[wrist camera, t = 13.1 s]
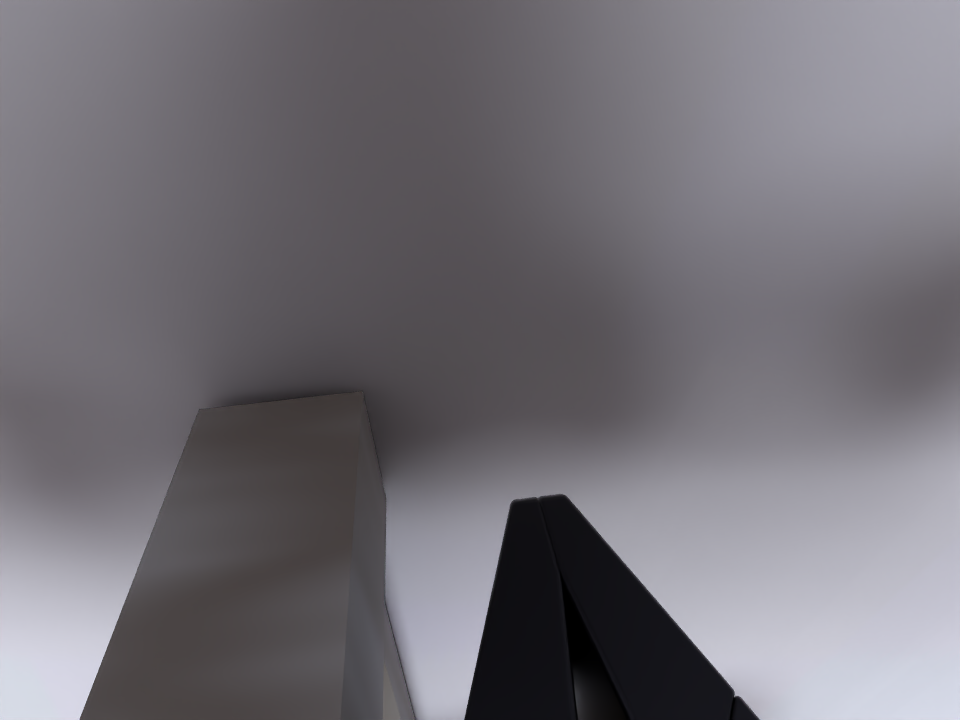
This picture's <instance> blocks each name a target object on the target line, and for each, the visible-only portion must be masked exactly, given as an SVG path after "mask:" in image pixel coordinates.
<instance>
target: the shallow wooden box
mask: <svg viewBox="0 0 960 720" xmlns="http://www.w3.org/2000/svg"><path fill="white" fill-rule="evenodd" d="M385 547H386V495H385V491H384V486H383V482H382V477H381V472H380V468H379V463H378V459H377V454H376V450H375V445H374V441H373V436H372V432H371V427H370V422H369V418H368V413H367V409H366V404H365V400H364V395H363V391H358V392H350V393H341V394H332V395H323V396H314V397H305V398H297V399H288V400H279V401H270V402H261V403H252V404H244V405H235V406H226V407H217V408H208V409H199V411H198V414H197V416H196V419H195V422H194V424H193V427H192V429H191V432H190V435H189V437H188V440H187V442H186V445H185V447H184V450H183V453H182V455H181V458H180V460H179V463H178V466H177V468H176V471H175V473H174V476H173V479H172V481H171V484H170V486H169V489H168V492H167V494H166V497H165V499H164V502H163V504H162V507H161V510H160V512H159V515H158V517H157V520H156V523H155V525H154V528H153V530H152V533H151V536H150V538H149V541H148V543H147V546H146V549H145V551H144V554H143V556H142V559H141V562H140V564H139V567H138V569H137V572H136V574H135V577H134V580H133V582H132V585H131V587H130V590H129V593H128V595H127V598H126V600H125V603H124V606H123V608H122V611H121V613H120V616H119V619H118V621H117V624H116V626H115V629H114V631H113V634H112V637H111V639H110V642H109V644H108V647H107V650H106V652H105V655H104V657H103V660H102V663H101V665H100V668H99V670H98V673H97V676H96V678H95V681H94V683H93V686H92V689H91V691H90V694H89V696H88V699H87V701H86V704H85V707H84V709H83V712H82V714H81V717H80V720H415V718H414V714H413V710H412V706H411V702H410V698H409V695H408V691H407V687H406V683H405V679H404V675H403V672H402V668H401V664H400V660H399V656H398V652H397V649H396V645H395V641H394V637H393V633H392V629H391V626H390V622H389V618H388V614H387V610H386V606H385Z"/></svg>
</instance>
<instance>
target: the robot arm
mask: <svg viewBox="0 0 960 720" xmlns="http://www.w3.org/2000/svg"><path fill="white" fill-rule="evenodd" d="M734 695H735V692H734V690H733V688H732V687H731V686H730V685H729V684H728V683H727V681H726V680H725V679H724V678H723V677H722V676H721V674H720V673H719V672H718V671H717V670H716V669H715V667H714V666H713V665H712V664H711V663H710V662H709V661H708V659H707V658H706V657H705V656H704V655H703V654H702V652H701V651H700V650H699V649H698V648H697V647H696V645H695V644H694V643H693V642H692V641H691V640H690V639H689V637H688V636H687V635H686V634H685V633H684V632H683V630H682V629H681V628H680V627H679V626H678V625H677V623H676V622H675V621H674V620H673V619H672V618H671V616H670V615H669V614H668V613H667V612H666V611H665V610H664V608H663V607H662V606H661V605H660V604H659V603H658V601H657V600H656V599H655V598H654V597H653V596H652V594H651V593H650V592H649V591H648V590H647V589H646V587H645V586H644V585H643V584H642V583H641V582H640V581H639V579H638V578H637V577H636V576H635V575H634V574H633V572H632V571H631V570H630V569H629V568H628V567H627V565H626V564H625V563H624V562H623V561H622V560H621V559H620V557H619V556H618V555H617V554H616V553H615V552H614V550H613V549H612V548H611V547H610V546H609V545H608V543H607V542H606V541H605V540H604V539H603V538H602V536H601V535H600V534H599V533H598V532H597V531H596V530H595V528H594V527H593V526H592V525H591V524H590V523H589V521H588V520H587V519H586V518H585V517H584V516H583V514H582V513H581V512H580V511H579V510H578V509H577V508H576V506H575V505H574V504H573V503H572V502H571V501H570V499H569V498H568V497H567V496H565V495H563V494H556V495H548V496H541V497H539V498H536V497H532V498H524V499H516V500H513V501H512V503H511V505H510V509H509V514H508V518H507V523H506V528H505V532H504V537H503V542H502V546H501V551H500V556H499V560H498V565H497V570H496V574H495V579H494V584H493V588H492V593H491V598H490V602H489V607H488V612H487V616H486V621H485V626H484V630H483V635H482V639H481V644H480V649H479V653H478V658H477V663H476V667H475V672H474V677H473V681H472V686H471V691H470V695H469V700H468V705H467V709H466V714H465V719H464V720H760V719H759V718H758V717H757V716H756V715H755V714H754V712H753V711H752V710H751V709H750V708H749V707H748V705H747V704H746V703H745V702H744V701H743V700H742V698H741V697H739V696H735V697H734Z"/></svg>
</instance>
